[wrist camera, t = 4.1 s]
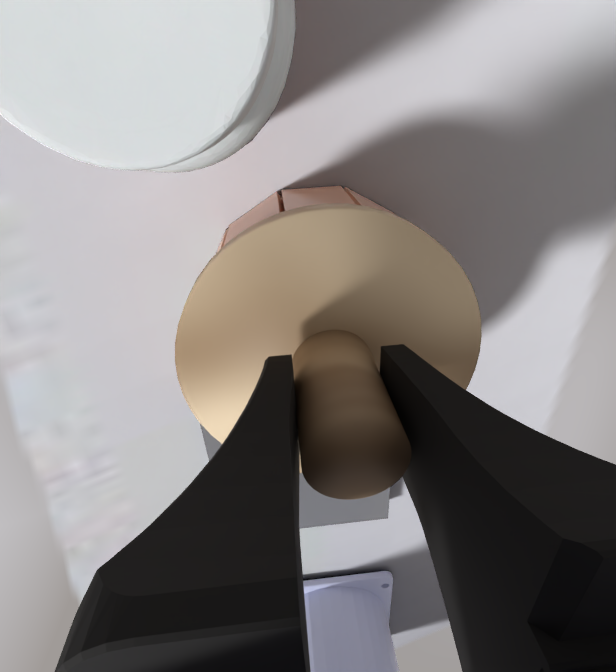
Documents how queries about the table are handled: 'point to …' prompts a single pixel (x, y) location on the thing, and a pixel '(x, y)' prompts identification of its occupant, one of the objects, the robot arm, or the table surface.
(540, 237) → the table surface
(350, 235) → the lid
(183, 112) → the pill bottle
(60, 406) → the table surface
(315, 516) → the coaster
